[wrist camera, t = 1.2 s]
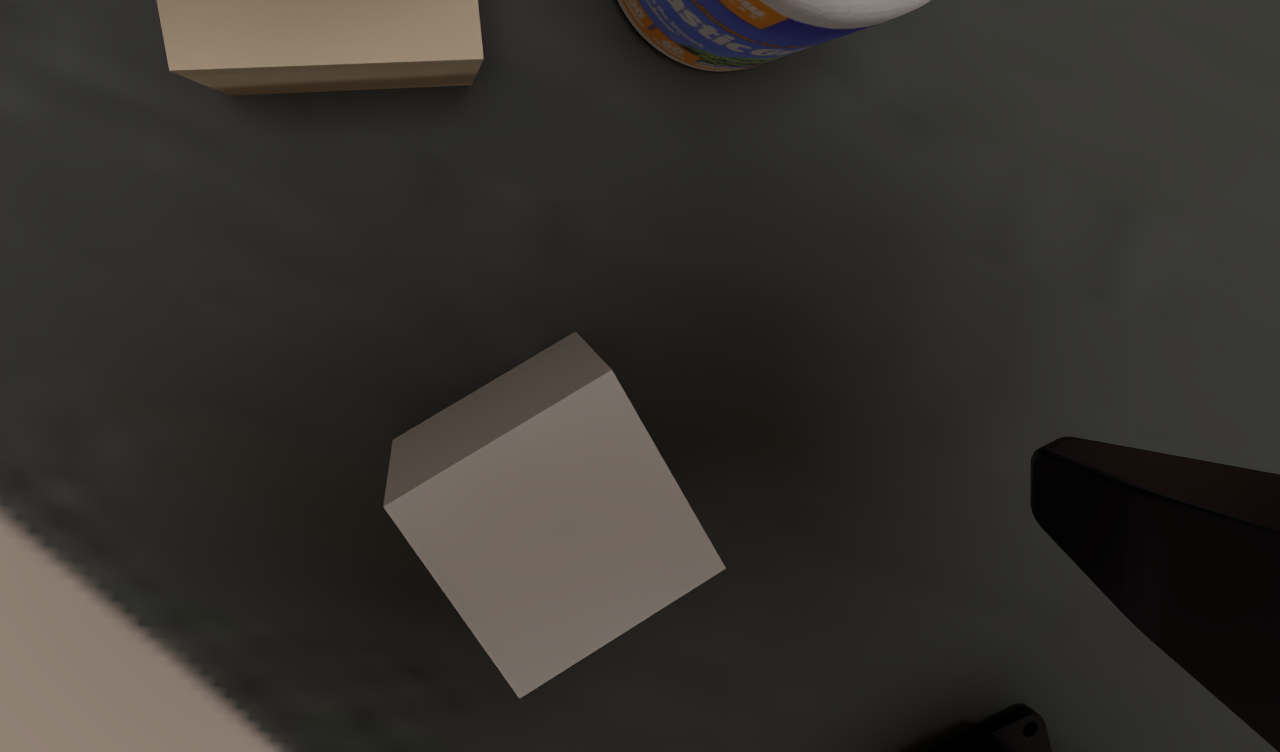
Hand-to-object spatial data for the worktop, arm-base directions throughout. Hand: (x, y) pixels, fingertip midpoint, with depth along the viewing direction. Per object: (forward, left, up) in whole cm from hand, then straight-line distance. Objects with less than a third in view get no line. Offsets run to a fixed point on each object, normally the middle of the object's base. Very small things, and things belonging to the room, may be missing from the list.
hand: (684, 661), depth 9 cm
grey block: (-2, +1, -13) cm, 13 cm away
